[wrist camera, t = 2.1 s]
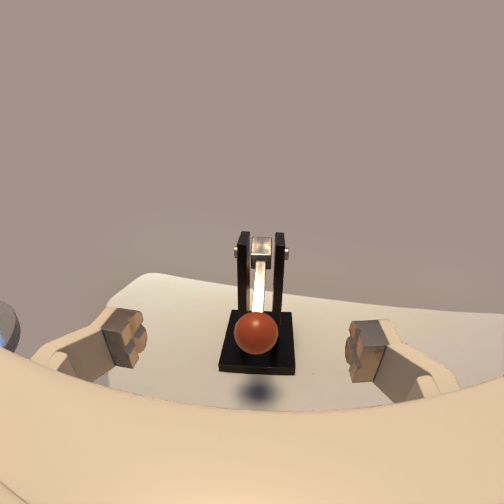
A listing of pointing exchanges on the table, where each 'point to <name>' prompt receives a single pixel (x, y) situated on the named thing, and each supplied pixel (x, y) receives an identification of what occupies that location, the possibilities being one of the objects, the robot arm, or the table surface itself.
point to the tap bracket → (282, 352)
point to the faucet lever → (257, 305)
